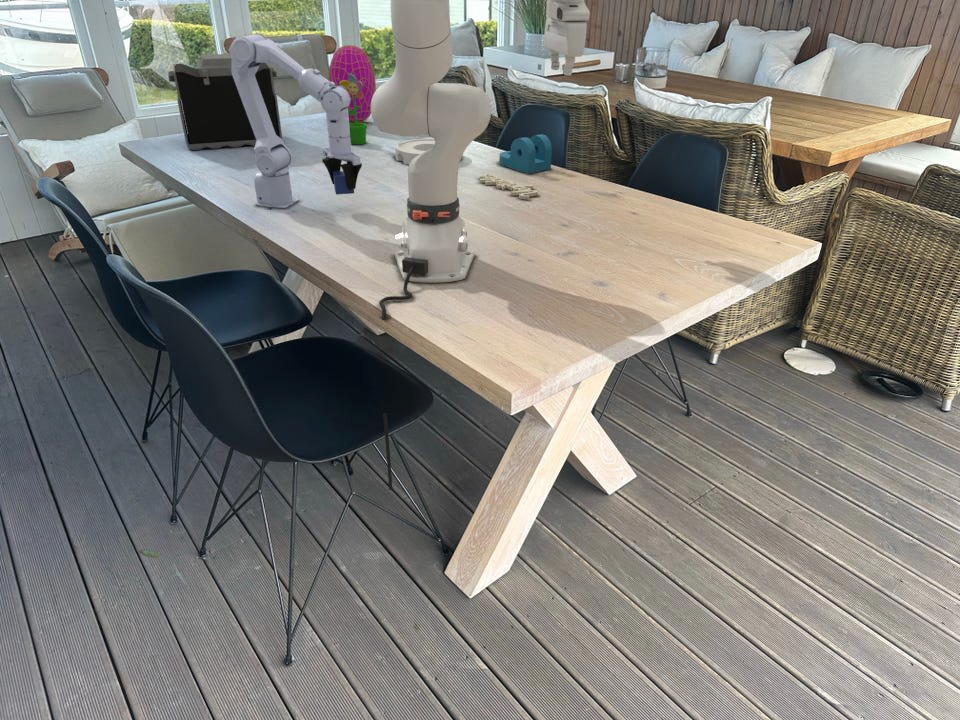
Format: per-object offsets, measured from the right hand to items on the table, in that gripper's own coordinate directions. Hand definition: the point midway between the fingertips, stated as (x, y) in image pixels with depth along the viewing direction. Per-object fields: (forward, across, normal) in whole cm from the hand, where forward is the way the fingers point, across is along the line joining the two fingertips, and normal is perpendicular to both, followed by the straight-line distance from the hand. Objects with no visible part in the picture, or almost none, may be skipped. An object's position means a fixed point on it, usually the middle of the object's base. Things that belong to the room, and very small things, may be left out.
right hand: (561, 72), depth 170 cm
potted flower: (+37, -97, -46) cm, 114 cm away
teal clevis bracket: (+38, -54, +7) cm, 66 cm away
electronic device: (+37, -108, -92) cm, 147 cm away
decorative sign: (+38, -30, -4) cm, 48 cm away
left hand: (+31, -18, -55) cm, 65 cm away
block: (+32, -18, -55) cm, 66 cm away
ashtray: (+38, -71, -23) cm, 83 cm away
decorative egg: (+38, -134, -44) cm, 147 cm away
